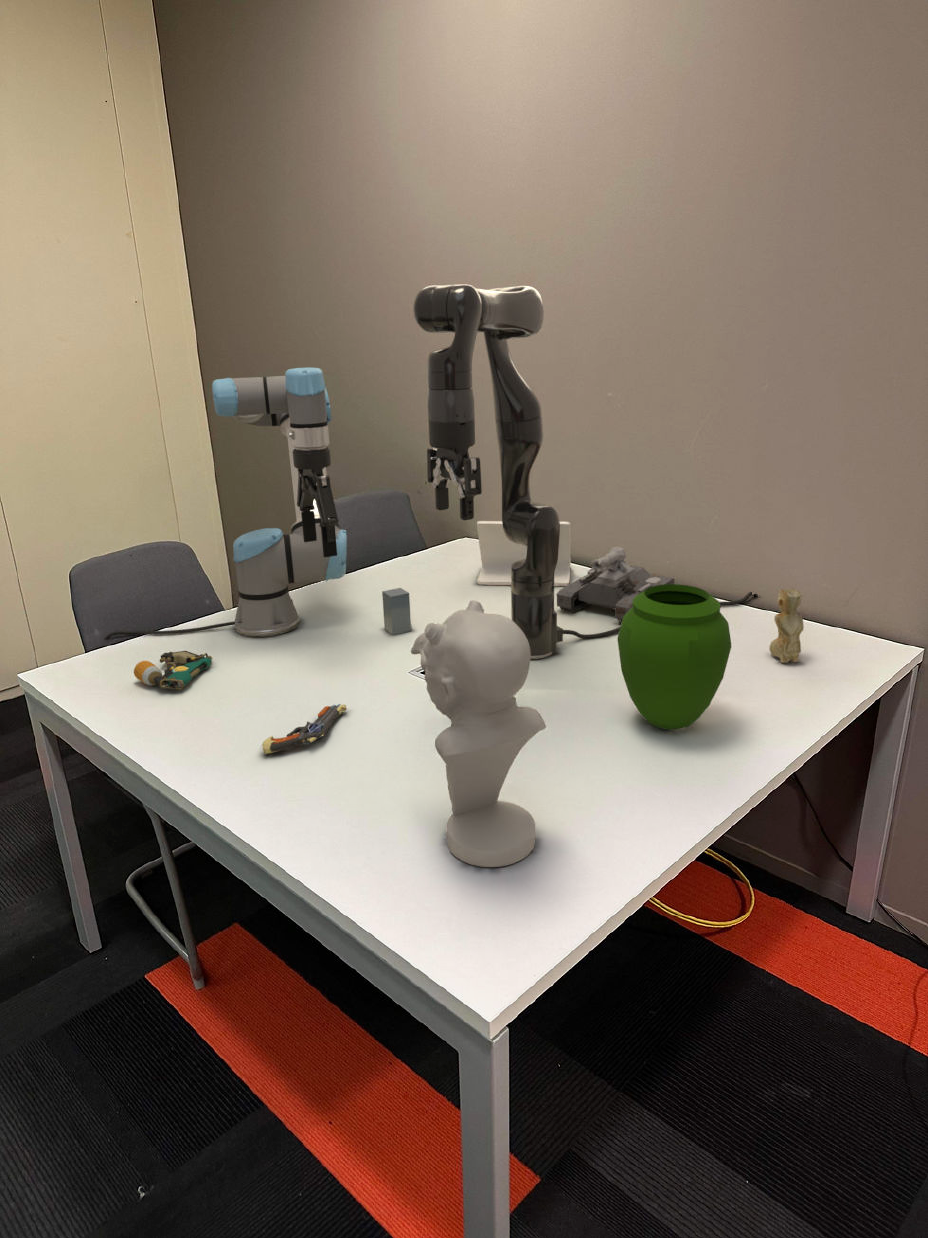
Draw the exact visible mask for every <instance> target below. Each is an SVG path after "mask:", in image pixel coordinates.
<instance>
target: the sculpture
mask: <svg viewBox="0 0 928 1238" xmlns="http://www.w3.org/2000/svg"><path fill="white" fill-rule="evenodd" d="M777 592H778V595H777V606H778V609H779V611H780V612H779V613H777V614H775V615H774V617H773V618H774V623H775V625H776V627H777V633H778V636H777V637H776V638H775V639H773V640H772V641H771V642H770V643H769V648H768V649H769V652H770V654H771V655H772V656H773V657H776V658H777V657H778V658H779V659H780V660H779V661H780V663H784V664H785V663H789V662H792V663H795V662H799V659H800V653H801V651H802V646H801V645H802V643H801V639H800V638H801V637H800V636H801V634H802V633H803V631H804V629H805V627H804V618H803V615H802V614H801V613H800V612H798V609H799V607H800V606H801V604H802V600H801V597H802V596H803V594H802V593H801V592H800V591H799V590H797V589H795V588H793V587H789V588H787V589H786V588H785V589H784V588H778V589H777Z"/></svg>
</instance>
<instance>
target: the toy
mask: <svg viewBox="0 0 928 1238" xmlns="http://www.w3.org/2000/svg"><path fill="white" fill-rule="evenodd" d="M626 557H627V556H626V551H625V549H624V548H622V547H621V546H614V547H612V548H611V549H610V550H609V552H608V553H607V554H605V555H604V556H601V557H599V558H598V559H597V557H596V558H594V559H593V560H592V561H590V562H589V563H590V564H591V565H592V567H591V568H590V569H589V570H587V573H586V575H584V576H582V577H580V578H578V579H577V580H575V581H573V582H570V583H569V585H567V586H563V587H562V588H560V589H559V590H558V591H557V592H556V607H558V608H559V609H560V610H562V611H566V612H572V613H575V612H577V611H579V610H581V609H582V608H585V607H586V606H588V605H592V606H598V607H602V608H603V607H604V608H609V609H613V610H614V618H615V619H617V620H618V621H621V622H622V620H623V616H624V615H625V614H626V613H627V612H628V611H629V610H630V609H631V608H632V607H633V599H634V597H635V596H637V595H639V594H640V593H642V592H644V591H645V590H646V589H648V588H650V587H653V586H658V585H667V584H675V580H676V579H675V578H673V577H668V576H663V575H656V576H655V577H654V576H651V574H650V573H649V572H648V571H647V570H646V568H644V567H641V566H635V565H629V564H628V563H627V562H626V561H625V559H626Z"/></svg>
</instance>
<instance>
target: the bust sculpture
mask: <svg viewBox="0 0 928 1238" xmlns="http://www.w3.org/2000/svg"><path fill="white" fill-rule="evenodd" d="M530 653H531V652H530V646H529V643H528V640H527V638H526V636H525V634H524V633H523V632H522V630H521V629H520V628H519V627H518V626H517V625H516V624H515V623H514V622H513V621H512V620H511V618H508V617H507V616H504V615H503V614H502V615H501V614H496V613H485V609H484V607H483V605H482V603H481V602H480V601H478V600H473V599H472V600H470V601H469V603H468V605H467V607H466V609H460V610H457V611H455V612H453V613H451V615H449V616H448V617H447V618H446V619H445V620H444V622H442V624H441V623H435V622H430V623H428V624H427V625H426V626H425V628H424V632H423V633H421V634H419V635H418V636H417V637H416V638H415V640H414V642H413V645H412V647H411V649H410V654H412V655H420V667H421V669H422V670H423V672H424V681H425V682H426V690H427V693H428V696H429V698H430V701H431V702H432V704H434V706H435V708H436V710H438V711H439V712H440V713H441V714H442V716H446V717H447V718H448V719H449V720H450V726H448V727H446V728H445V729H443V730H442V731H441V732H440V733H439V734H438V735H436V738H435V741H434V748H435V749H436V752H437V753H438V755H439V757H440V758H441V760H442V761H443V762H444V763H445V771H446V781H447V790H448V796H449V800H450V803H451V810H452V813H451V814H450V815H449V817H448V819H447V822H446V844H447V847H448V849H449V851H450V852H451V854H452V855H453V856H454V857H456V858H457V859H459V860H460V861H462V862H463V863H466V864H469V865H471V866H476V867H483V868H498V867H505V866H509V865H512V864H517V862H520V861H521V860H523V859H525V858H527V856H528V855H530V854H531V852H532V851H533V849H535V848H534V847H535V845H536V822H535V821H536V820H535V819H534V817H533V816H532V814H531V813H530V812H529V811H528V810H526V809H525V808H524V807H522V806H520V805H517V804H515V803H513V802H509V801H504V800H499V796H500V793H501V790H502V788H503V785H504V783H505V780H506V778H507V776H508V773H509V771H510V769H511V768H512V765H513V763H514V761H515V760H516V759H517V756H518V755H519V753H520V752H521V750H522V749H523V748H524V747H525V745H526V744H527V743H528V742H529V741H530V740H531V739H532V738H533V737H535V735H537V734H538V733H539V732H541V731H544V730H545V729H546V728H547V725H546V723H545V720H544V718H543V717H542V714H541V713H540V712H539V711H538V710H537V709H535V708H533V707H530V706H518V705H517V701H516V699H517V698H516V696H515V695H516V694H517V693H519V691H521V689H522V688H523V686H524V684H525V683H526V680H527V678H528V675H529V669H530V666H531V659H530V656H531V655H530Z"/></svg>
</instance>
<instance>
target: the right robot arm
mask: <svg viewBox="0 0 928 1238" xmlns="http://www.w3.org/2000/svg"><path fill="white" fill-rule="evenodd" d="M412 312H413V313H412V314H413V317H414V320H415V322H416V323H417V325H418V326H419V327H420V328H421V329H422V330H423V331H424V332H427V333H429V334H454V336H453V339H452V342H451V344H450V345H449V346H447V347H442V348H439V349H434V350H432V351H431V352H430V353H429V354H428V356H427V379H428V382H427V383H428V396H427V419H428V420H427V421H428V441H429V442H428V443H429V446H430V447H429V448H427V449H426V460H427V461H426V468H427V471H426V472H427V482H428V483H429V484H432V488H433V489H434V494H435V496H434V497H435V510H438V511H446V510H448V509H449V508H450V496H449V487H448V486H449V483H450V481H451V482H452V485H453V486H454V487H455V488H457V492H458V494H459V517H460V520H462V521H470V520H471V521H472V520H473V519H474V518H475V508H474V507H475V506H474V505H475V503H474V498H475V497H476V496H478V495H479V496H480V495H482V492H483V489H482V469H481V468H482V467H481V459H480V457H478V456H476V457H470V454H469V449H470V448H471V447H473V446H474V445H475V444H476V424H475V423H476V421H475V420H476V419H475V418H476V417H475V416H476V415H475V398H474V392H473V356H474V351H475V344H476V340H477V334H478V333H480V334H481V333H483V338H484V343H485V348H486V353H487V359H488V364H489V371H490V376H491V385H492V394H493V395H492V396H493V406H494V407H493V408H494V420H495V430H496V439H497V445H498V454H499V464H500V465H499V466H500V479H501V521H502V524H503V530H504V533H505V535H506V537H507V538H508V539H509V540H510V541H512V542H514V543H517V544H520V545H524V546H527V555H526V559H522V560H519V561H516V562H515V563H513V564H512V567H511V585H510V588H511V589H510V597H511V599H510V603H511V604H510V606H511V607H510V609H511V610H510V615H511V617H510V619H511V620H512V621H513V622H514V623H515V624H516V625H517V626H518V627H519V628H520V629H521V630H522V632H523V633H524V634H525V636H526V638H527V640H528V643H529V646H530V652H531V653H530V655H531V656H530V660H540V659H545V658H548V657H550V656H552V655H557V654H558V653H557V650H558V649H557V648H558V647H557V645H558V644H559V643H562V642H564V635H571V636H575V637H576V638H579V639H584V640H590V639H596V638H597V639H598V638H599V639H600V638H602V637H603V638H604V637H607V636H610V635H614V634H617V633H619V631H620V627H621V625H620V626H619V627H616V628H613V629H611V630H607V631H603V632H598V633H592V634H585V633H584V634H583V633H579V632H578V631H575V630H572V629H571V630H570V629H564V628H562V627H560V626H558V613H557V612H556V611H555V586H554V572H555V568H556V565H557V561H558V551H559V536H560V522H561V521H560V516H559V514H558V511H557V510H556V509H555V508H554V507H553V506H551V505H548V504H543V503H539V502H536V501H535V502H533V501H532V497H531V490H530V487H531V486H530V477H531V471H532V469H533V466H534V464H535V461H536V460H537V458H538V455H539V453H540V450H541V448H542V445H543V441H544V428H543V427H544V426H543V416H542V415H543V414H542V407H541V403H540V401H539V399H538V397H537V396H536V394H535V393H534V391H533V390H532V388H531V387H530V386H529V384H528V383H527V381H525V379H524V377H523V376H522V374H521V373H520V372H519V371H518V369H517V367H516V365H515V363H514V361H513V359H512V358H513V357H512V355H511V352H510V348H509V345H508V340H512V339H525V338H531V337H534V336H535V335H537V334H538V333H539V332H540V330H541V328H542V326H543V323H544V303H543V299H542V295H541V294H540V292H539V291H538V290H537V289H536V288H534V287H533V286H530V285H517V286H507V287H497V288H490V289H487V288H486V289H485V288H478V287H474V286H473V285H472V284H466V283H465V284H464V283H461V284H437V285H435V284H434V285H433V284H432V285H428V286H424V287H423V288H422V289H420V290H419V291H418V292H417V294H416V296H415V298H414V301H413V304H412ZM473 482H474V483H473ZM752 596H753V598H758V597H759V595H758V594H757V593H756V594H754V595H752V592H751V591H749V592H748V593H747V594H746V595H745V596H743V597H742V598H741V599H737V600H730V601H719V603H720V607H721V606H734V605H740V604H743V603H744V602H746V601H748V600H749V598H750V597H752Z"/></svg>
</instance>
